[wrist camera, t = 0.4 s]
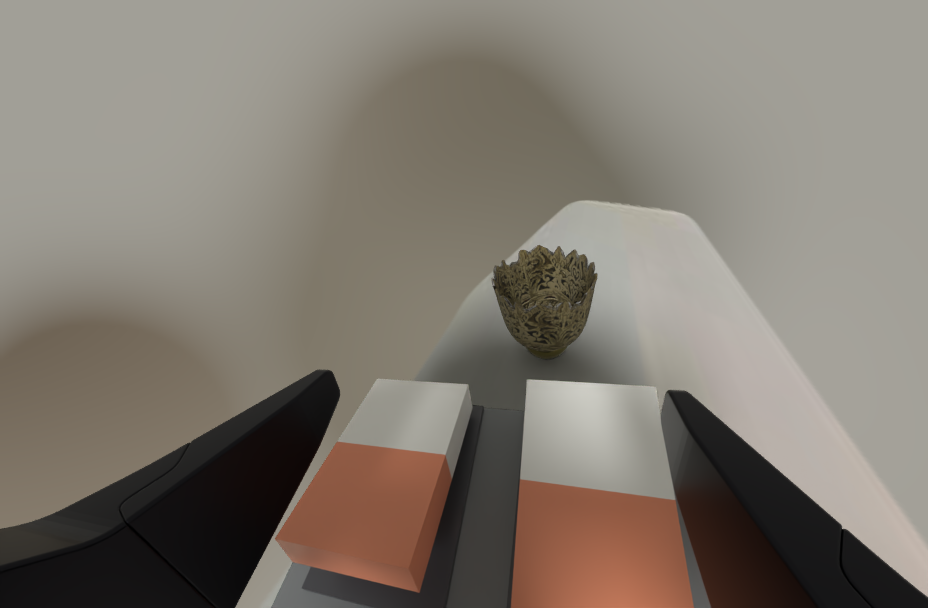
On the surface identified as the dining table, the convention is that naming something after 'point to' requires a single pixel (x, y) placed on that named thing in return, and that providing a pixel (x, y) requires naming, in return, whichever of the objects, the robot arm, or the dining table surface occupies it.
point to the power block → (459, 536)
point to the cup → (545, 298)
